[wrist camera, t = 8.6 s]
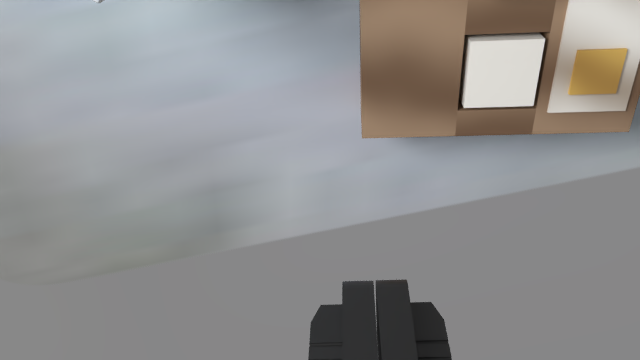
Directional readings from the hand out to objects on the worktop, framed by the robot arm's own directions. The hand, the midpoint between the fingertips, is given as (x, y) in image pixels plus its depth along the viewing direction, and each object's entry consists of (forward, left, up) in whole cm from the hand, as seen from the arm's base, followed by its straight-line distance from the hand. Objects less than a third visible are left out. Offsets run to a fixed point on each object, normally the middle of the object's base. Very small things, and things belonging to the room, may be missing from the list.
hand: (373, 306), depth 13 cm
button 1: (+3, +8, -22) cm, 24 cm away
